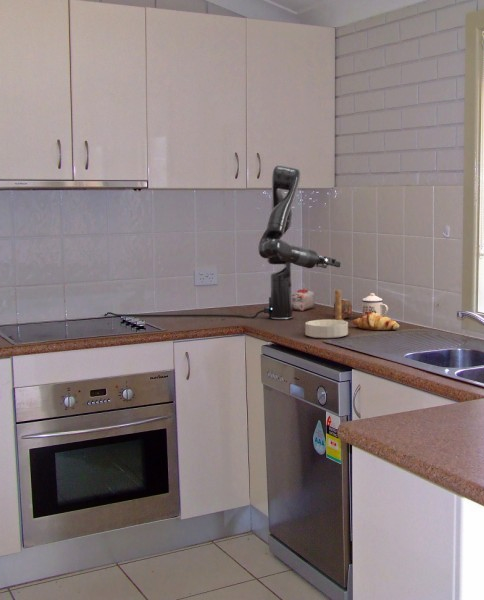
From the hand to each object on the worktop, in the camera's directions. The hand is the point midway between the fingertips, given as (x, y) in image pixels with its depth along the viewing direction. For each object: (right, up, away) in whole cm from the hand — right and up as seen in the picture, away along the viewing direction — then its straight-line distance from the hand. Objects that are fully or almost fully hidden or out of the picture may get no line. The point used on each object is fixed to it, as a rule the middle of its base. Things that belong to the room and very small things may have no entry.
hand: (333, 265), depth 349 cm
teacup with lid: (+18, -23, +19) cm, 35 cm away
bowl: (-2, -28, -22) cm, 36 cm away
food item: (-17, -19, +53) cm, 58 cm away
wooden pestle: (+2, -26, -7) cm, 27 cm away
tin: (+3, -22, +26) cm, 34 cm away
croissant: (+18, -26, -6) cm, 32 cm away
